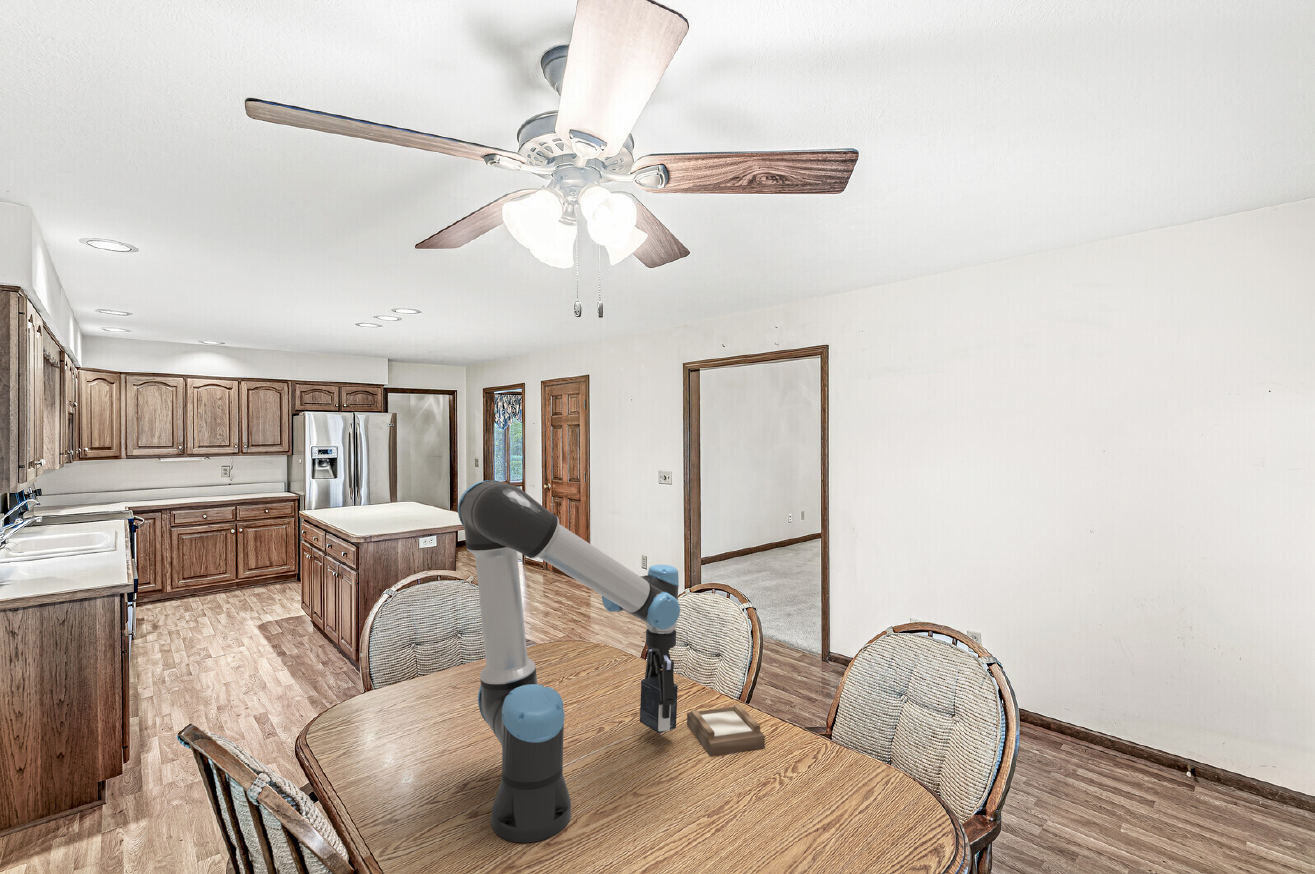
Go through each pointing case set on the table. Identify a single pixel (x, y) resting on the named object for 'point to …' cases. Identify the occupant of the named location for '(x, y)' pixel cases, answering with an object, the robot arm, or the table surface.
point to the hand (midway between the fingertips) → (657, 720)
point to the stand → (726, 730)
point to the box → (654, 704)
